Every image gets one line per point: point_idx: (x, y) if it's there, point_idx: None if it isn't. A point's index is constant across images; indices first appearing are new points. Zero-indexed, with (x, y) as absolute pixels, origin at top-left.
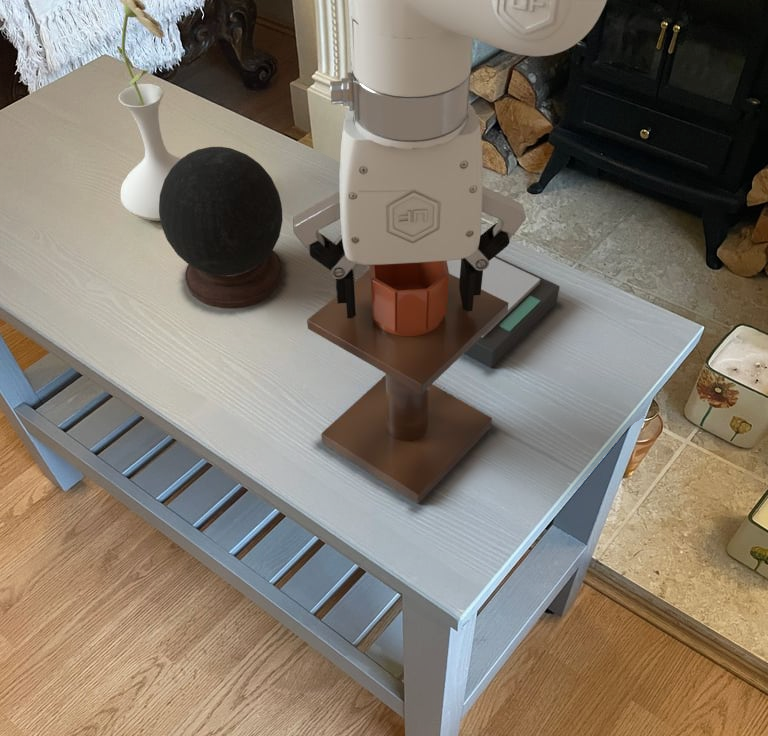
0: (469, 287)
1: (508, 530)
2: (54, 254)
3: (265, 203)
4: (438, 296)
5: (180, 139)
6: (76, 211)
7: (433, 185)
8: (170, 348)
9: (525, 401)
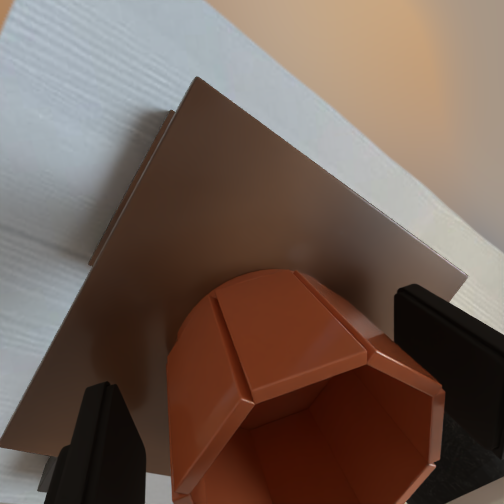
0: (84, 465)
1: (20, 70)
2: None
3: (437, 488)
4: (198, 394)
5: None
6: None
7: None
8: None
9: (51, 309)
